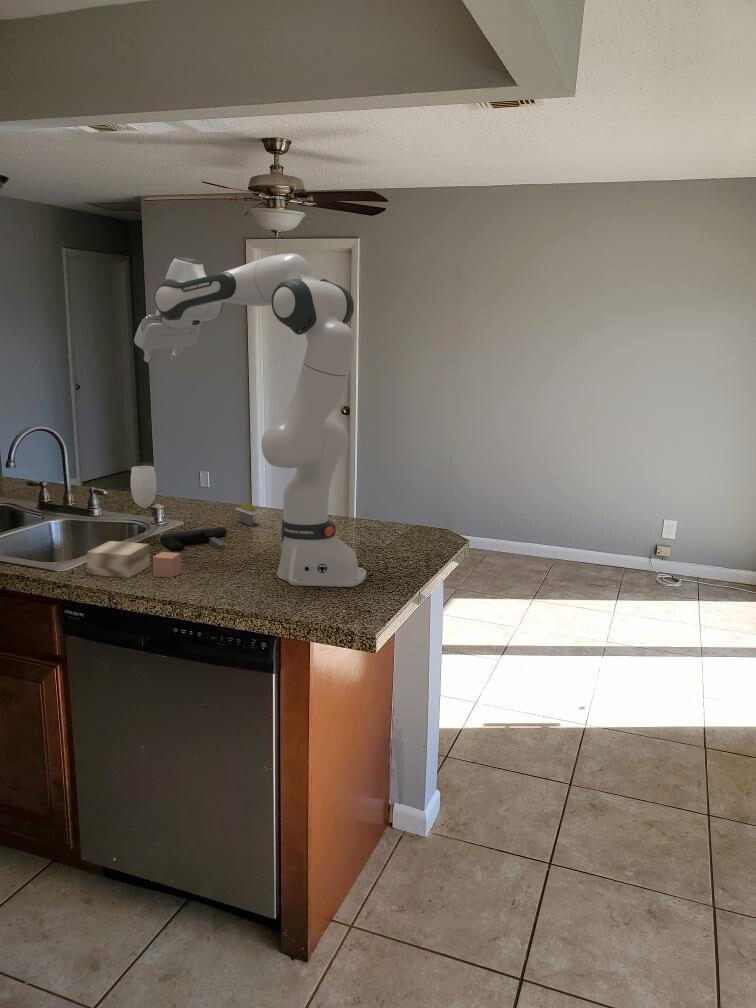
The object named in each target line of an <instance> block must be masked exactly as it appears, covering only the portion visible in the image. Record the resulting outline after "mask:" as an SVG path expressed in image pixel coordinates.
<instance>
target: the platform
mask: <svg viewBox="0 0 756 1008" xmlns="http://www.w3.org/2000/svg"><path fill="white" fill-rule="evenodd" d="M235 510H237V511H239V522H240V523H242V524H244V523H245V524H244V525H247V524H248V525H247V526H249V527H253V526H254V525H253V524H254V523H253V522H254V519H253V518H254V516H253V515H257V514H259V511H260V510H259V509H256V506H255V505H254V504H250V503H248V502H242V503H240V506H236V507H235Z"/></svg>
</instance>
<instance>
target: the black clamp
mask: <svg viewBox="0 0 756 1008" xmlns="http://www.w3.org/2000/svg"><path fill="white" fill-rule="evenodd" d="M227 535H228V531H227V528H226V527H222V526H218V527H209V528H204V529H203V528H201V529H193V530H186V531H184V530H183V531H178V532H170V533H163V534H161V535H160V536H159V539H158V540H159V543H160V544H162V545H164V546H166V547H167V548H168V549H169V550H170V551H172V552H173V553H178V552H182V551H184V550H185V547H190V546H198V545H207V544H210V545H211V546H213V547H215V548H217V549H218V550H226V544H225V543H224V542H222V541H220V539H218V538H223V537H226V536H227Z"/></svg>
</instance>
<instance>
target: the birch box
mask: <svg viewBox="0 0 756 1008" xmlns="http://www.w3.org/2000/svg"><path fill="white" fill-rule="evenodd" d="M150 556H151V555H150V543H142V542H141V543H139V542H127V541H115V540H114V541H113V540H109V541H107V542H104V543H102V544H101V545H98V546H95V547H94V548H91V549H90V550H88V551H86V564H87V566H86V567H87V575H89V574H92V575H91V576H102V577H103V576H104V577H114V578H127V579H130V578H132V577H134V576H135V575H137V574H138V573H140V572H142V571H143V570H145V569H147V568H149V567H150V566H151V560H150V559H151V557H150Z"/></svg>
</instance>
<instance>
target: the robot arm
mask: <svg viewBox="0 0 756 1008" xmlns="http://www.w3.org/2000/svg"><path fill="white" fill-rule="evenodd" d="M167 270H168V271H167V273H166V276H165V280H163V281H161V283H160V284H159V286H158V287H157V288H156V291H155V293H154V305H155V308H156V311H155V314H148V315H147V316H145V317H144V318H143V319H142V320H141V322H140V323H139V325H138V327H137V330H136V332H135V336H134V339H133V342H134V344H135V346H137V347H138V348H140V349H141V350H143V353H144V356H143V361H145V363H151V362H153V359H154V356H152V354H151V353H152V352H153V350H154V349H155V350H156V349H168V348H169V349H171V348H174V349H173V351H171V352H170V353H169V356H168V358H169V359H170V360H171V361H177V360H178V357H179V355H181V353H182V352H183V351H184V348H185V347H187V348H188V347H193V346H194V345H195V344H196V343H197V341H198V338H199V334H200V329H201V327H200V326H201V325H202V324H203V323H202V322H203V321H204V322H205V321H214V320H216V319H217V318H218V317H220V315H221V313H222V311H223V307H224V303H228V304H236V305H244V306H252V307H265V306H266V307H267V306H271V310H272V312H273V314H274V317H275V318H276V319H277V320H278V321H279V322H280V323H281V324H283V325H284V326H286V327H287V328H289V329H290V330H291V331H292V332H293V333H294V334H295V335H298V336H299V335H303V334H304V335H305V337H306V340H307V345H306V350H305V354H304V358H303V360H302V364H301V365H302V366H301V369H300V373H299V377H298V379H297V383H296V387H295V390H294V393H293V395H292V397H291V399H290V401H289V403H288V405H287V406H286V408H285V409H284V410H283V412H282V414H281V416H279V418H278V419H277V421H276V422H275V423H274V424H272V425H271V426H270V427H269V428H267V429H266V430H265V431H264V433H263V435H262V438H261V444H260V447H261V452H262V456H263V458H264V459H265V460H266V462H267V463H268V464H269V465H271V466H273V467H277V468H285V469H286V468H287V469H295V472H294V475H293V476H292V478H291V479H290V480H289V482H288V483H287V484H286V485H285V487H284V489H283V518H282V520H281V526H280V527H281V528H280V535H281V536H280V537H281V542H282V543H281V544H282V547H281V554H280V561H279V565H278V568H277V572H276V576H277V577H278V578H279V579H281V580H283V581H285V582H288V584H290V585H292V586H307V587H308V586H309V587H313V586H314V587H337V588H338V587H340V588H342V587H343V588H344V587H346V588H347V587H349V588H351V587H355V586H356V587H357V586H358V585H360V584H361V583H363V582H364V581H365V580H366V579H367V578H366V577H367V571H366V569H365V568H364V567H360V566H359V563H358V559H357V558H358V557H357V553H356V552H355V549H353V548H351V547H350V546H349V545H348V544H347V543H346V542H345V541H343V540H341V538H339V537H338V536H337V535H336V533H337V532H336V528H337V522H334V523H333V522H332V521H331V520H329V498H330V488H331V484H332V480H333V477H334V474H335V470H336V468H337V466H338V464H339V461H340V460H341V458H342V457H343V456H344V455H345V454H346V452H347V450H348V449H349V445H350V438H349V437H350V436H349V433H348V431H347V429H346V427H345V426H344V425H343V424H342V423H341V422H339V421H335V420H333V419H328V418H329V417H330V415H332V413H333V412H335V411H336V410H337V409H338V407H340V405H341V403H342V400H343V396H344V394H345V389H346V387H347V386H346V385H347V381H348V378H349V375H350V370H351V367H352V361H353V356H354V348H355V335H354V332H353V330H352V329H351V328H350V327H349V326H348V325H347V324H348V323H349V322H350V321H351V319H352V318H353V315H354V311H355V303H354V299H353V296H352V294H351V293H350V291H348V290H347V289H346V288H345V287H342V286H341V285H339V284H337V283H335V282H332V281H330V280H327V279H325V278H322V279H320V280H318V279H316V278H314V276H313V274H312V269H311V266H310V264H309V262H308V260H306V259H305V258H304V256H302V255H300V254H298V253H281V254H275V255H274V254H273V255H270V256H267V257H264V258H263V257H262V258H260V259H257V260H253V261H252V262H249V263H246V264H244V265H241V266H237V267H235V268H231V269H227V270H225V271H222V272H220V273H216V274H211V275H208V276H207V275H206V272H205V267H204V265H203V263H202V262H200V261H199V260H197V259H195V258H189V257H186V256H185V257H182V256H178V257H177V256H176V257H174V259H173V260H172V261H171V263H170V265H169V267H168V269H167Z"/></svg>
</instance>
